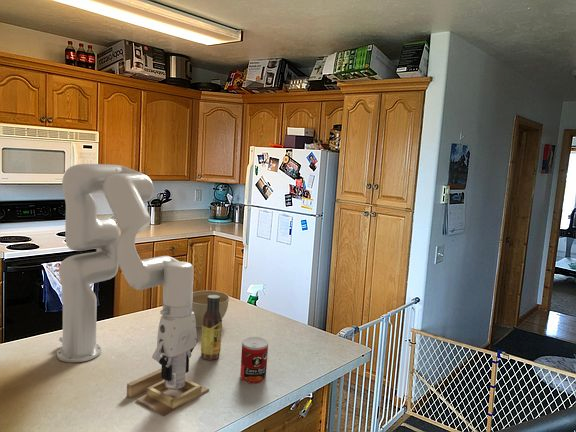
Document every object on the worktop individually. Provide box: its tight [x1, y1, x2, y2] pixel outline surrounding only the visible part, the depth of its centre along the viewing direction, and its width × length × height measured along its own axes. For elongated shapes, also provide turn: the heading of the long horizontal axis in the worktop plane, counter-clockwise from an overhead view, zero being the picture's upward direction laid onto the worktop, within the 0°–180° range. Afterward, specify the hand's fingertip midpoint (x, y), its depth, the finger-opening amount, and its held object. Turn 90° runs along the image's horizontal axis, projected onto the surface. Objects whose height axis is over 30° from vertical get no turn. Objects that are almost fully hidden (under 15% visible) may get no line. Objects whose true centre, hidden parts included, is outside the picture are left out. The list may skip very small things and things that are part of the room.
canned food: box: [240, 336, 269, 385], centre depth 133 cm, size 8×8×11 cm
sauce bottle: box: [200, 295, 223, 361], centre depth 144 cm, size 6×6×20 cm
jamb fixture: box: [126, 367, 210, 417], centre depth 121 cm, size 14×16×4 cm
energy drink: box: [165, 351, 187, 390], centre depth 119 cm, size 5×5×12 cm
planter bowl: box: [192, 290, 230, 329], centre depth 171 cm, size 16×16×11 cm
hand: (175, 374), depth 120 cm, fingers closed on energy drink, 5 cm apart
